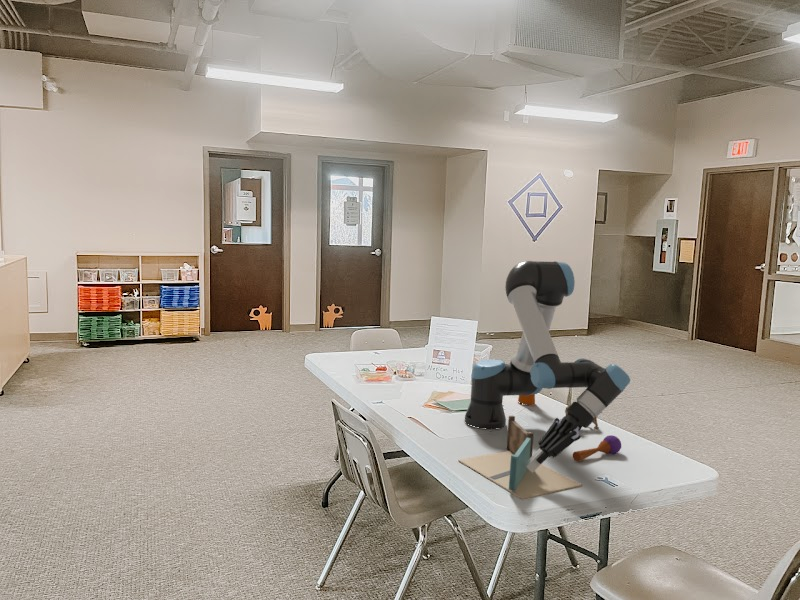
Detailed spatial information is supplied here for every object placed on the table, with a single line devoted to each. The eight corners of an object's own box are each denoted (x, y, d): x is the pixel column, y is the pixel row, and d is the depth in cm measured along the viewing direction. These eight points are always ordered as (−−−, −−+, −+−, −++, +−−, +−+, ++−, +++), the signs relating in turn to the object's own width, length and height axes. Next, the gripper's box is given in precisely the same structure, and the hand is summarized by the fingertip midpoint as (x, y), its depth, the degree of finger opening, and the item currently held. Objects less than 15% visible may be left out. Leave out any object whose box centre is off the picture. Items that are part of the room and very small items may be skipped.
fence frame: (505, 447, 210) (507, 415, 209) (511, 447, 211) (513, 415, 209) (525, 469, 192) (528, 434, 191) (532, 469, 192) (534, 434, 191)
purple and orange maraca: (568, 446, 203) (609, 432, 214) (570, 464, 203) (611, 450, 214) (582, 448, 198) (623, 434, 209) (585, 467, 198) (626, 452, 209)
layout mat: (458, 461, 196) (458, 459, 196) (513, 451, 207) (513, 449, 207) (522, 499, 171) (522, 497, 171) (581, 485, 182) (581, 484, 181)
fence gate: (524, 466, 192) (526, 435, 191) (529, 467, 191) (532, 436, 190) (508, 489, 174) (511, 455, 173) (515, 490, 173) (517, 457, 172)
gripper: (604, 425, 177) (545, 486, 176) (582, 411, 190) (527, 468, 189) (588, 407, 175) (528, 469, 174) (566, 394, 188) (511, 451, 187)
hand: (528, 468), depth 182 cm, fingers closed
